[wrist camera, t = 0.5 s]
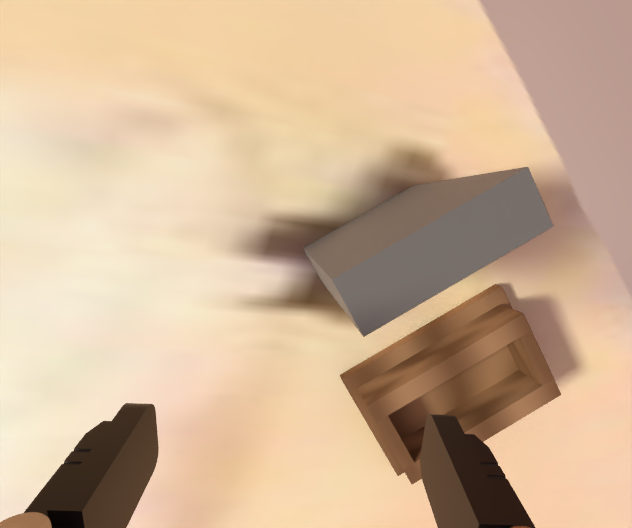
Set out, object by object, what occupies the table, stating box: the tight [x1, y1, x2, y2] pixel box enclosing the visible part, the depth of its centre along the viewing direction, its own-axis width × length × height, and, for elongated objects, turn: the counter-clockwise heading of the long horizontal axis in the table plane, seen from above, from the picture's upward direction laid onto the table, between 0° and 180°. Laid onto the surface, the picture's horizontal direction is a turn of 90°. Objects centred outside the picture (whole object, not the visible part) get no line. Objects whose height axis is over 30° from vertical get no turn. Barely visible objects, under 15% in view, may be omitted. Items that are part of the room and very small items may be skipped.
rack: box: [340, 285, 561, 484], centre depth 32 cm, size 15×10×4 cm, turn 119°
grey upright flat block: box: [303, 167, 553, 337], centre depth 25 cm, size 10×3×14 cm, turn 119°
